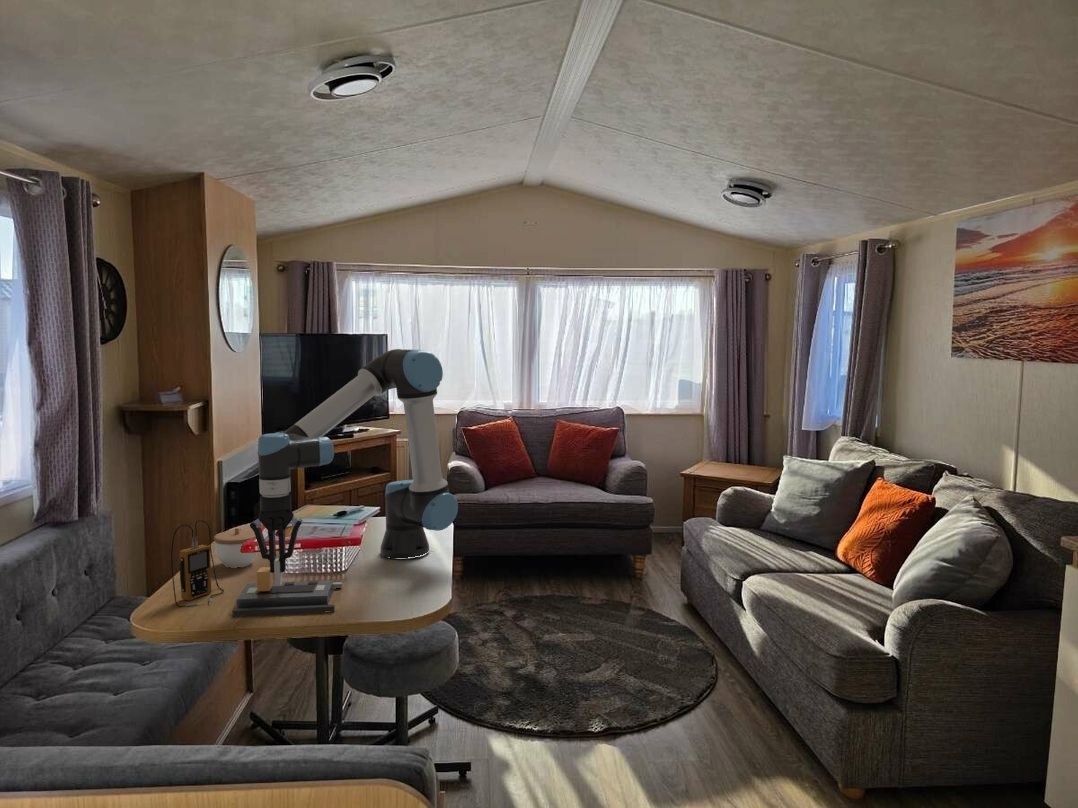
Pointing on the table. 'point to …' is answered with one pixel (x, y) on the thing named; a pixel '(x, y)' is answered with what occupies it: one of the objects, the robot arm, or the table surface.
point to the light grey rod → (337, 585)
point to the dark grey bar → (282, 610)
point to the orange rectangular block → (264, 579)
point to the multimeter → (195, 570)
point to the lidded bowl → (234, 547)
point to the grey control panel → (286, 595)
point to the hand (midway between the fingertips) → (278, 584)
